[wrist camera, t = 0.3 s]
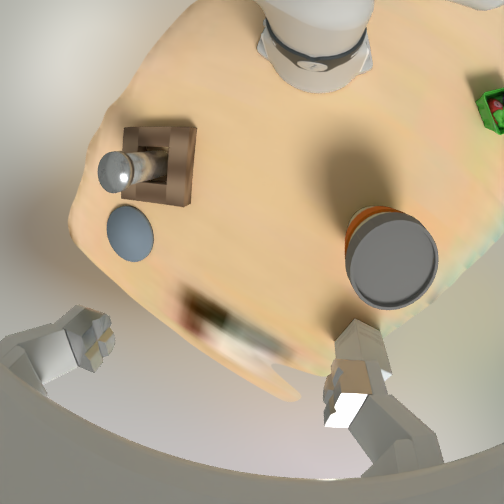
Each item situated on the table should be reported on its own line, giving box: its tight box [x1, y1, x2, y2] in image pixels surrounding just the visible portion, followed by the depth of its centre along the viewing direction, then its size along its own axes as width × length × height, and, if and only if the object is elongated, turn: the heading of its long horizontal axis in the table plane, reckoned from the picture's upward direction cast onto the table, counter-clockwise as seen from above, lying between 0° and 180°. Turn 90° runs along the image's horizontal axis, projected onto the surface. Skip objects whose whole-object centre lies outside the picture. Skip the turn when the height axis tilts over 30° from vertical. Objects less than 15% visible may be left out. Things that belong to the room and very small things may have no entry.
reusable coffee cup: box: [345, 206, 438, 310], centre depth 37 cm, size 13×12×15 cm
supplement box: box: [335, 319, 392, 381], centre depth 46 cm, size 7×7×13 cm
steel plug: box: [98, 150, 169, 193], centre depth 40 cm, size 6×6×14 cm
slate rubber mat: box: [107, 206, 154, 262], centre depth 53 cm, size 12×12×1 cm
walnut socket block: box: [121, 127, 197, 207], centre depth 45 cm, size 14×14×3 cm
